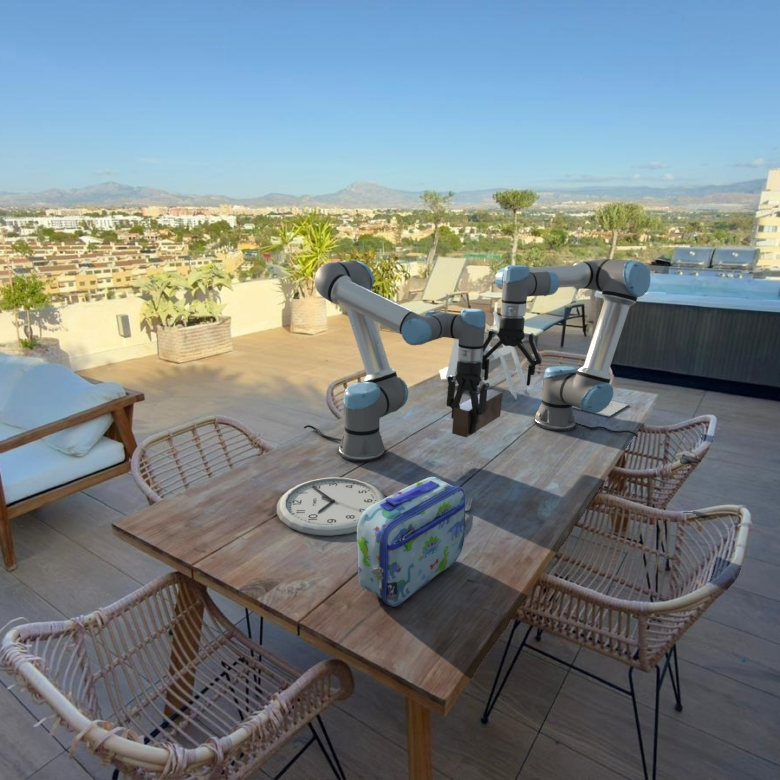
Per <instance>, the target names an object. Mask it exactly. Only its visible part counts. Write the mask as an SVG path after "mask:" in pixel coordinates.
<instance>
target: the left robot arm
mask: <svg viewBox="0 0 780 780" xmlns="http://www.w3.org/2000/svg"><path fill="white" fill-rule="evenodd" d="M374 281H375V279H374V273H373V271H372V269H371V268H370V267H369V266H368V265H367V264H366V263H364V262H362V261H359V260H346V261H330V262H327V263H324V264H323V265H321V266H320V267H319V268H318V269H317V271H316V273H315V276H314V286H315V289H316V291H317V292H318V294H319V295H320V296H321V298H323V299H325V300H327V301H329V302H331V303H332V304H334V305H337V306H338V305H339V306H341V307H342V308H344V309H345V310H346V313H347V316H348V320H349V323H350V326H351V330H352V333H353V336H354V339H355V342H356V345H357V349H358V351H359V355H360V358H361V361H362V364H363V368H364V371H365V378H364V379H363V381H361V382H355V383H352V384H350V385H348V386H347V387H346V388H345V390H344V392H343V393H344V395H343V425H344V426H343V427H344V428H343V429H344V430H343V431H344V432H343V434H342V438H338V437H333V436H329V435H325V434H323V433H322V432H321V431H320V429H319V428H317V427H315V426H313V425H311V424H306V425H304V426H303V429H307V428H310V429H312V430H314V431H316V432H317V433H318V435H319V436H320V437H322V438H324V439H329V440H332V441H338V442H340V444H339V447H338V454H339V456H340V457H341V458H342V459H344V460H346V461H350V462H356V463H368V462H373V461H377V460H379V459H381V458H383V457H384V455H385V449H386V448H385V444H384V442H383V438H382V435H381V431H380V419H381V418H383V417H385V416H387V415H390V414H392V413H395V412H397V411H399V410H400V409H402V408H403V407H404V406H405V405H406V403H407V401H408V398H409V388H408V385H407V383H406V381H405V380H404V379H402V378H401V377H399V376H398V374H397V371H396V369H393V368H391V366H390V363H389V360H388V356H387V354H386V350H385V347H384V343H383V340H382V337H381V334H380V330H379V327H378V324H380V325H382V326H384V327H386V328H388V329H389V330H392V331H394V332H396V333H397V334H400V335H401V337H402V339H403V341H404V342H405V343H406V344H408V345H410V346H422V345H425V344H426V343H430V342H432V341H436V340H439V339H441V338H448V339H452V340H453V339H459V344H458V359H459V360H458V361H457V373H456V375H455V376H454V375H451V376H449V377H447V380H448V385H447V395H446V406H447V407H449V408H450V409H451V419H452V420H453V414H454V407H456V406H458V405H460V404H461V401H462V397H463V395H464V391H465V390H466V391H468V394H469V396H470V399H471V403H472V410H473V414H471V419H470V431H469V434H470V436H472V435H474V434H475V433H476V432H475V429H476V424H478V422H479V415H481V414H483V413H485V412H486V399H487V390H488V389H489V387H490V383H489V382H485V381H484V380H481V376H480V375H481V368H482V362H481V360H482V357H483V344H484V343H485V332H486V327H487V326H486V325H487V324H486V321H487V320H486V318H487V315H486V312H485V311H484V310H483V309H479V308H463V309H461V310H460V314H457V313H451V312H446V311H445V312H444V311H441V310H429V311H427V312H426V314H424V315H420V314H419V313H416V312H414V311H413V310H410V309H409V308H406V307H405V306H402V305H400V304H398V303H396V302H394V301H392V300H390V299H388V298H386V297H383V296H382V295H380V294H378V293H375V292H373V291H372V289H373V285H374V283H375V282H374ZM377 323H378V324H377ZM456 380H457V382H458V384H457V387H456V384H455V382H456ZM478 386H479V389H480V390H479V391H478ZM455 392H456V393H455ZM478 392H479V394H480V398H479V401H478V395H479V394H478Z"/></svg>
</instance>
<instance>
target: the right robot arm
mask: <svg viewBox="0 0 780 780" xmlns="http://www.w3.org/2000/svg"><path fill="white" fill-rule="evenodd" d="M651 278H652V277H651V273H650V270H649V268H648V266H647V265H646V264H645V263H644V262H642V261H637V260H633V259H612V258H601V259H592V260H585V261H578V262H576V263H574V264H568V265H552V266H551V265H550V266H549V265H548V266H535V267H532V266H531V267H529V266H528V265H519V264H518V265H516V264H515V265H514V264H510V265H507V266H505V267H501V268H500V269H499V270H498V271H497V272H496V274H495V278H494V282H495V285H496V287H497V288H498V289H500V290H501V303H500V316H499V318H500V326H499V331H498V330H494V329H489V330H488V335H487V338H485V339H486V340H484V343H483V353H484V351H485V349H486V348H487V346H488V344H489V345H490V343H491V341H492V339H493V338H495V337H496V336H497V338H498V339H499V341H498V342H496V343H495V345H494V346H493V347H491V348H492V349H491V350H490V351H489V352H488V353H486V354H485V355H483V357H482V370H485V374H484V377H483V381H487V380H488V379H489V374H488V372H489V359H487V358H488V357H489V356H490V355H491V354H492V353H493V352H494V351H495V350H498V349H499V347H500V346H501V345H502V344H503V345H505V346H512V347H514V348H516V347H517V348H518V349H519V350H520V351H521V353H522V354H523V356H524V357H525V358H526V359H527V361H528V363H529V364H528V367H527V377H526V384H527V387H530V385H531V379H532V376H534V375H535V374H536V366H537V365H541V364H542V362H543V359H542V357H541V354H540V351H539V349H538V346H537V344H536V342H535V333H533V332H530V333H525V321H526V318H525V316H526V312H527V310H526V309H527V300H528V297H547V296H552V295H554V294H555V293H557V292H558V290H559V288H572V287H573V288H574V289H578V290H582V289H583V290H585V289H586V290H592V291H597V292H600V293H601V298H602V299H603V302H602V303H603V304H602V307H601V310H600V313H599V316H598V319H597V323H596V325H595V329H594V332H593V334H592V337H591V341H590V344H589V347H588V350H587V354H586V356H585V360H584V363H583V366H582V367H580V368H577V367H574V366H567V365H557V366H550V367H547V368H546V369H545V370H544V375H543V381H542V392H541V402H540V405H539V407H538V410H537V411H536V413H535V416H534V424H535V425H536V426H537V427H539V428H542V429H544V430H549V431H556V432H567V431H572V430H574V429H575V428H576V426H580V427H583V428H586V429H589V430H597V429H602V430H605V431H608V432H609V433H615V434H624V433H629V434H632V435H633V436H635V437H639V435H638V434H637V433H636V432H634V431H632V430H613V429H610V428H608V427H606V426H600V425H599V426H588V425H586V424H582V423H579V422H576V418H575V417H576V416H575V413H574V407H577V408H580V409H582V410H581V411H583V412H587V413H593V414H596V413H598V412H600V411H602V410H603V409H605V408H606V407H607V406H608V405H609V403H610V402H611V401H613V397H614V388H613V385H611V384H610V383H611V379H612V378H611V376H610V374H609V371H610V367H611V365H612V362H613V358H614V356H615V352H616V350H617V346H618V343H619V340H620V338H621V334H622V331H623V328H624V326H625V322H626V320H627V316H628V313H629V310H630V308H631V307H632V306H634V305H635V304H636V303H637V300H638V298H641V297H643V296H645V294H647V293H648V291H649V288H650V285H651ZM524 339H526V341H528V343H529V346H530V348H531V351H532V354H533V355H532V354H531V352H530V351H529V350H528V349H527V347H526V345H525V343H524V342H523V340H524ZM503 345H502V346H503ZM533 356H534V357H533ZM580 409H579V410H580Z"/></svg>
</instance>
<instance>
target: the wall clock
mask: <svg viewBox="0 0 780 780" xmlns="http://www.w3.org/2000/svg"><path fill="white" fill-rule="evenodd" d="M385 498H386V496H385V494H384V493H383V492H382V491H381V490H380V489H379V488H377V487H376V486H374V485H372V484H371V483H369V482H365V481H362V480H359V479H355V478H349V477H338V476H337V477H335V476H333V477H332V476H331V477H322V478H317V479H312V480H307V481H305V482H302V483H299V484H297V485H295V486H293V487H292V488H290V489H288V490H287V491H286V492H285V493H284V494H283V495H281V496H280V498H279V499H278V502H277V503H276V515H277V517H278V518H279V520H280V521H281V522H282V523H283V524H285V525H286V526H287V527H288V528H290V529H293V530H295V531H297V532H299V533H303V534H308V535H312V536H327V537H328V536H329V537H331V536H332V537H333V536H342V535H350V534H352V533H357V526H358V522H359V519H360V517H361V515H362V513H363V512H364V511H365V510H366V509H367V508H368V507H369V506H371V505H373V504H375V503H377V502H379V501H381V500H383V499H385Z"/></svg>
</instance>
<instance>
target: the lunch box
mask: <svg viewBox="0 0 780 780" xmlns="http://www.w3.org/2000/svg"><path fill="white" fill-rule="evenodd" d="M465 501H466V494H465V490H464V489H463V487H461V486H458V485H456V486H454V485H451V484H450V483H448V482H446V481H444V480H442V479H440V478H438V477H436V476H430V477H426V478H424V479H421V480H420V481H417V482H415V483H413V484H411V485H409V486H407V487H405V488H402V489H401V490H399V491H396V492H395V493H393V494H390V495H389V496H387V497H385V499H383V500H381V501H379V502H377V503H375V504H373V505H371V506H369V507H368V508H367V509H366V510H365V511H364V512H363V513H362V515H361V517H360V519H359V522H358V526H357V532H356V549H357V550H356V551H357V552H356V553H357V577H358V583H359V585H360V587H361V588H362V589H364V590H366V591H368V592H370V593H372V594H374V595H375V596H377V598H379V599H381V600H382V602H383V603H384V604H385V605H387V606H390V607H393V608H394V607H398V606H400V605H402V604H403V603H404V602H405V601H406V600H408V599H409V598H410V597H411V596H412V595H414V594H416V592H418V591H419V590H420V589H422V588H423V587H424V586H426V585H427V584H428V583H430V582H431V581H432V579H434V578H435V577H436V576H438V575H439V574H440V573H442V572H444V571H446V570H447V569H449V568H450V567H451V566H452V565H454V563H456V561H457V560H458V558H459V557H460V555H461V553H462V550H463V547H464V542H465V530H466V529H465V528H466V511H465Z"/></svg>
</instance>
